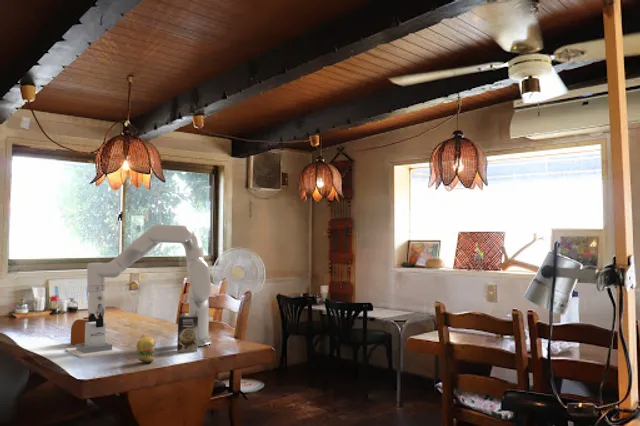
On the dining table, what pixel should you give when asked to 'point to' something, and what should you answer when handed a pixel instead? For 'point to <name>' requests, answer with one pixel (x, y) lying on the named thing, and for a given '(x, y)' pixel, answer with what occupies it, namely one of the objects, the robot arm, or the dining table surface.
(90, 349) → the dock board
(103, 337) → the supplement box
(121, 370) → the dining table surface
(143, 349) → the hamburger
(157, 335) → the dining table surface
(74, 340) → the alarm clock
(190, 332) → the coffee box
